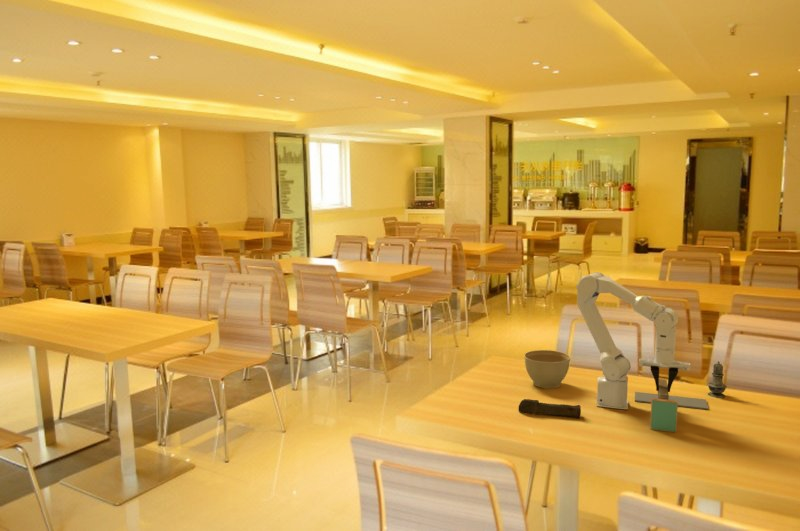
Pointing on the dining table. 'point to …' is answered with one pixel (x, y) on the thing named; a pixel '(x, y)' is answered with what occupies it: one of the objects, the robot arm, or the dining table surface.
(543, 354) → the planter bowl
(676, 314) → the robot arm
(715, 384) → the salt shaker
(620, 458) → the dining table surface
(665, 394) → the two-tone flat stick
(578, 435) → the dining table surface
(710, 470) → the dining table surface
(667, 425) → the tile
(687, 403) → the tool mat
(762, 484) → the dining table surface
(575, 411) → the hand tool
